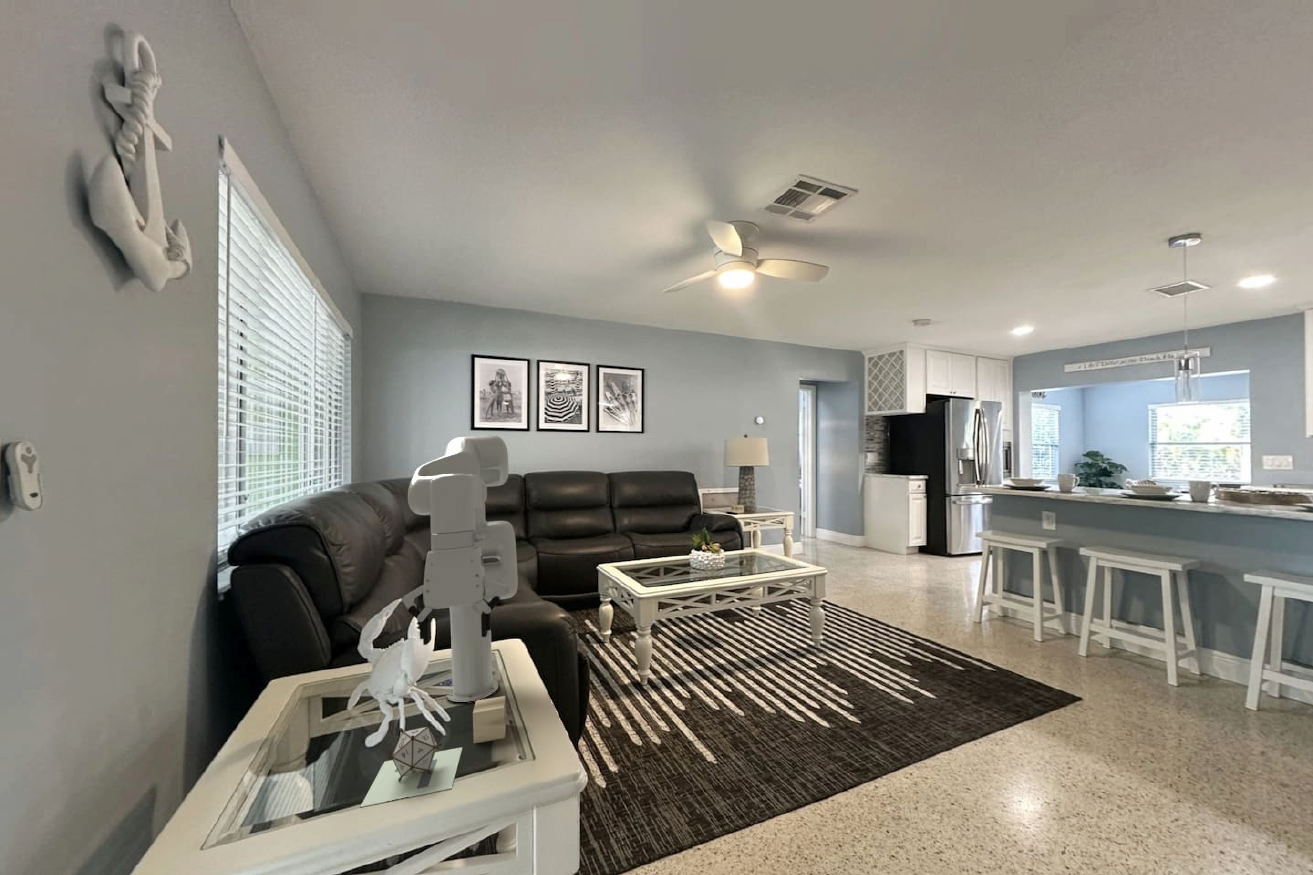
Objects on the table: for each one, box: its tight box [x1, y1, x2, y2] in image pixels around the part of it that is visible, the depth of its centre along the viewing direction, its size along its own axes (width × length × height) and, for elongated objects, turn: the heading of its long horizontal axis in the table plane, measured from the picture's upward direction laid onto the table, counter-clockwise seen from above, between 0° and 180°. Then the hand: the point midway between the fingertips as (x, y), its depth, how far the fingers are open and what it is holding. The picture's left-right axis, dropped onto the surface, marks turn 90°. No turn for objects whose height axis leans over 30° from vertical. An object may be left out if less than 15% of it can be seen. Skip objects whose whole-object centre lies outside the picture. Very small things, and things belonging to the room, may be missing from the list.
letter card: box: [359, 747, 463, 808], centre depth 90 cm, size 14×14×1 cm
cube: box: [472, 695, 507, 744], centre depth 104 cm, size 6×6×6 cm
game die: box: [386, 721, 443, 783], centre depth 90 cm, size 9×8×10 cm
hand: (456, 638), depth 89 cm, fingers open, 9 cm apart
